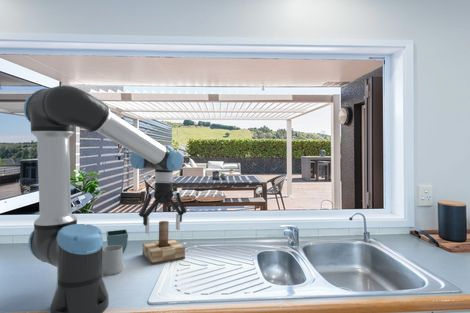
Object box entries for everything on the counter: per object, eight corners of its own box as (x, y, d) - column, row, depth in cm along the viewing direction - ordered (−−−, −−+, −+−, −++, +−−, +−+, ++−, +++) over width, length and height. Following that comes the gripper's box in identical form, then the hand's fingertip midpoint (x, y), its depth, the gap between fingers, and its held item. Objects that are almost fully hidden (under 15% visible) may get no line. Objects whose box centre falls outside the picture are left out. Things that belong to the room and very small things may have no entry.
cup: (97, 274, 114) (97, 250, 114) (113, 264, 124) (113, 242, 124) (115, 276, 113) (115, 251, 113) (129, 266, 123) (129, 243, 122)
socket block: (184, 258, 131) (184, 247, 131) (152, 264, 124) (152, 252, 124) (173, 249, 143) (173, 238, 143) (142, 254, 136) (142, 243, 136)
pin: (169, 254, 133) (169, 222, 133) (160, 256, 131) (160, 223, 131) (166, 252, 136) (166, 220, 136) (157, 253, 134) (157, 221, 134)
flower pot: (106, 250, 141) (106, 231, 141) (126, 248, 145) (126, 229, 144) (106, 256, 133) (106, 235, 133) (128, 254, 137) (128, 233, 136)
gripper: (187, 180, 143) (186, 226, 143) (132, 181, 130) (131, 232, 130) (194, 181, 136) (193, 229, 136) (136, 183, 123) (135, 236, 123)
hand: (162, 231), depth 133 cm, fingers open, 13 cm apart
